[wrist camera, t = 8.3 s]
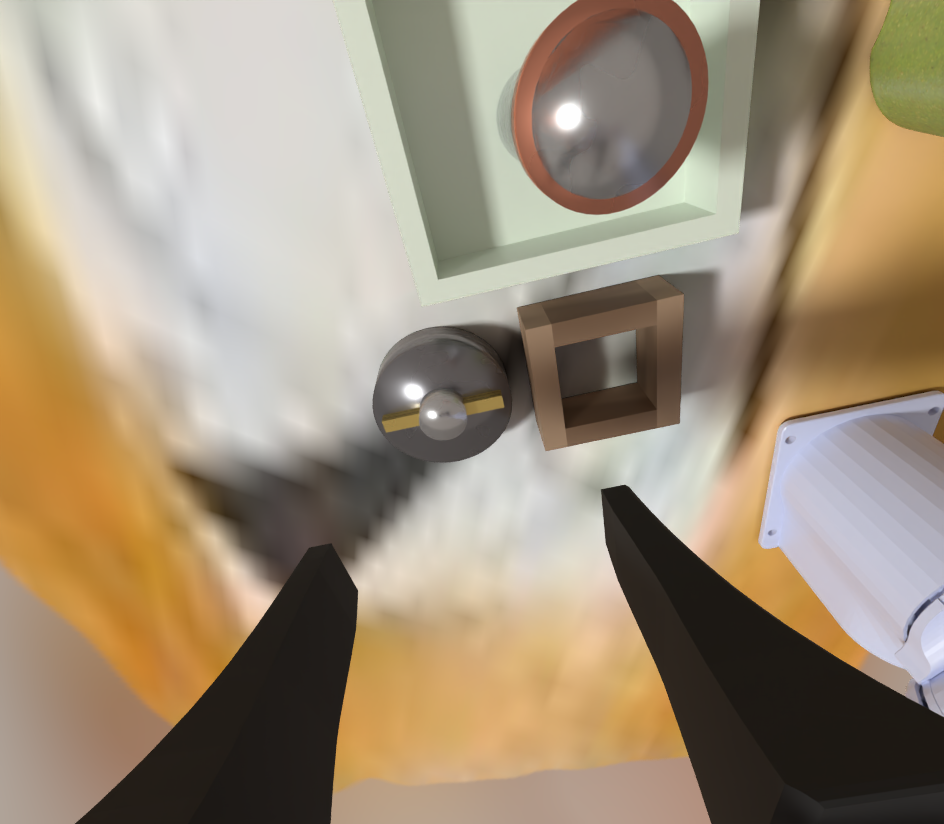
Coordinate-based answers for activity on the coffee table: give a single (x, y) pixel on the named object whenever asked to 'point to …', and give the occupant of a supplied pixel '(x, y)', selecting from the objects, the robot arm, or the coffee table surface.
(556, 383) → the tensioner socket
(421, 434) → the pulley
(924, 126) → the plant pot
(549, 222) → the tray
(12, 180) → the coffee table surface
